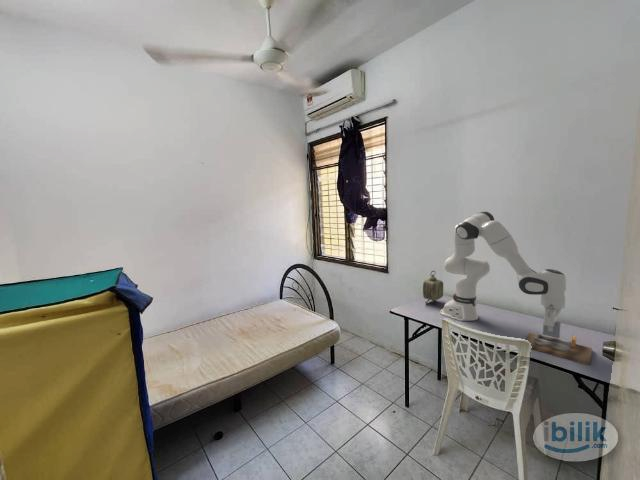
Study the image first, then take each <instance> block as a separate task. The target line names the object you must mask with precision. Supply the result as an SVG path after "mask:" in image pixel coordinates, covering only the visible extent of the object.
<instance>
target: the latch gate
mask: <svg viewBox="0 0 640 480" xmlns="http://www.w3.org/2000/svg"><path fill="white" fill-rule="evenodd" d="M571 343H572V347H575V345H576V344H577V335H574V334H573V335H572V337H571Z"/></svg>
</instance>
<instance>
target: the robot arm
mask: <svg viewBox="0 0 640 480" xmlns="http://www.w3.org/2000/svg"><path fill="white" fill-rule="evenodd" d="M479 237H482V238H483V239H484V240H485V241H486V243H487V244H488V246H489V248H490V249H491V250H492V251H493V253H494V254H496V255H497V256H498V257H501V258H503V259H504V260H506V261H508V263H509V265H510V266H511V267H512V269H513V270H514V271H515V273H516V274H517V275H516V276H517V282H518V287H519V290H520V291H521V292H523V293H524V294H526V295H535V296H536V295H537V296H539V295H540V304H541V306H542V307H543V308H544V309H545V310H544V313H543V315H544V316H543V324H544V325H545V326H548V331H551V332H552V331H553V327H554V325H555V323H556V322H558V319H559V316H560V314H561V312H562V309H565V307H566V295H565V293H566V292H565V291H566V288H567V279H566V276H565V274H564V273H563V272H562V271H560V270H557V269H556V270H555V269H553V268H552V269H551V268H546V269H545V268H544V269H543V270H541V271H538V272H537V271H535V270H534V269H532V268H531V267H530V266H529V265H528V264H527V263H526V261H525V260H524V258H523V257H522V255H521V254H520V253H519V249H518V245H517V242H516V241H515V239H514V238H513V236H512V234H511V233H510V232H509V230H507V229H506V227H505V226H504V225H503V224H502V223H501V222H499V221H498V220H495V217H494V216H493V214H491V213H490V212H488V211H480V212H478V213H477V212H476V213H475V214H473V215H471V216H469V217H468V218H466V219H464V220H462V221H461V222H460V223H458V224H456V225H455V227H454V231H453V246H454V251H453V253H452V255H450V257H449V256H448V258H446V259H445V260H444V263H443V266H444V270H445V271H446V272H447V273H450V274H454V275H461V276H466V278H464V279H460V280H459V281H458V282H456V286H455V287H456V289H455V293H454V294H453V295H452V299H450V300H449V301H447V302H445V304H444V306H443V308H441V309H440V311H439V314H440V315H442V316H444V317H447V318H451V319H454V320H456V321H461V322H464V321H468V322H469V321H477V320H478V319H479V316H478V313H477V295H476V292H477V290H476V289H477V285H478V283H479V281H480V280H482V278H484V277H486V276H487V275H488V274H489V273H490V270H491V266H490V263H489V262H488V261H487V260H485V259H481V258H471V257H470V256H471V255H473V254H474V253H475V251H476V247H475V246H476V244H475V243H476V242H475V240H476V239H478V238H479Z"/></svg>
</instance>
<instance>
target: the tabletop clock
mask: <svg viewBox="0 0 640 480" xmlns="http://www.w3.org/2000/svg"><path fill="white" fill-rule="evenodd" d="M432 273H433V274H432ZM435 275H436V270H431V272H430V275H429V276H430V277H429V278H428V279H425V280H424V281H423V283H422V295H423V296H422V297H423V299H425V300H427V301H425V305H427V304H428V302H429V301H435V302H434V303H435V305H437V304H438V301H437V300H440V299H441V298H443V297H444V281H442V280H440V279H437V277H436V276H435Z"/></svg>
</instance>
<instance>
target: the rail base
mask: <svg viewBox="0 0 640 480" xmlns="http://www.w3.org/2000/svg"><path fill="white" fill-rule="evenodd" d="M525 339H526V340H528V341H529V342H530V343H531V346H532V349H531V350H533V349H534V351H537V350H538V351H537V352H541V351H542V353H544V352H545V354H548V353H549V354H548V355H551V354H552V356H555V357H558V358H559V357H560V358H562V359H567V360H571V361H575V362H577V363H580V364H585V365H588V366H591V361H592V360H591V359H592V350H593V349H592V347H591V346H590V347H589V346H586V345H581V344H578V343H576V345H575V347H572V341H570V340H566V339H561V338H555V337H551V336H547V335H543V334H541V333H536V334H535V333H532V332H529V333H528V334H527V336H526V338H525Z"/></svg>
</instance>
